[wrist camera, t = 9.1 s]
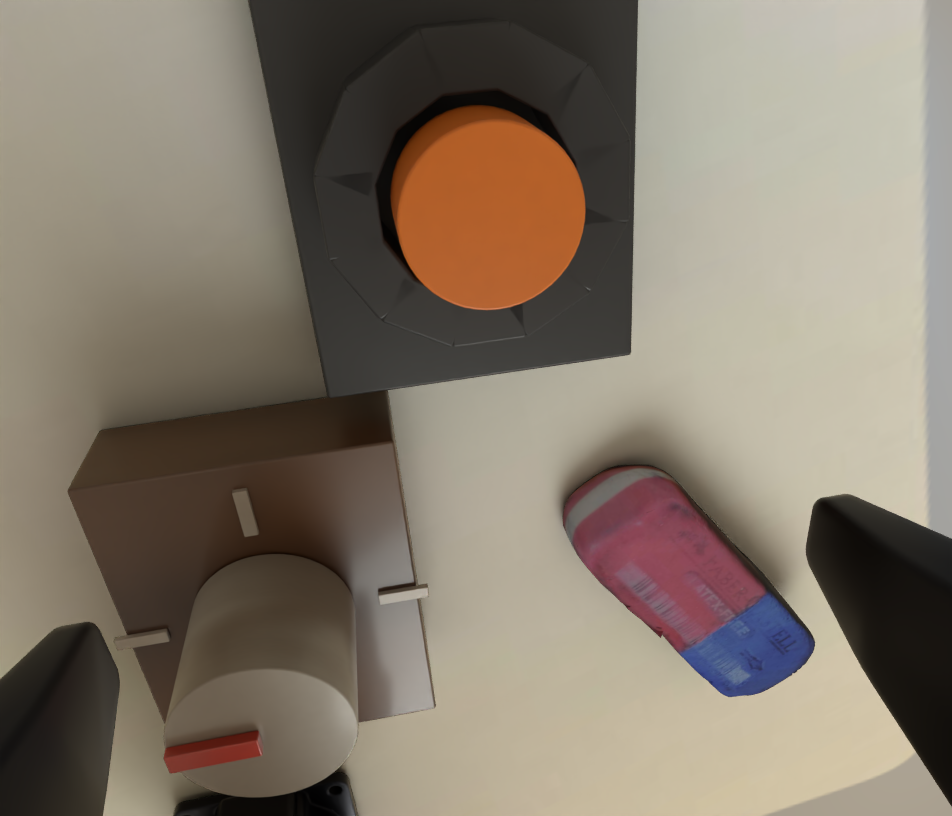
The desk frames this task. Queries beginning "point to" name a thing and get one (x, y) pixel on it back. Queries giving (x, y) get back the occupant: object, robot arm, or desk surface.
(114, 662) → the robot arm
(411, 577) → the dial panel
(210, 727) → the dial
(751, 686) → the eraser
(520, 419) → the desk surface
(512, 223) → the button
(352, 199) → the orange button panel
